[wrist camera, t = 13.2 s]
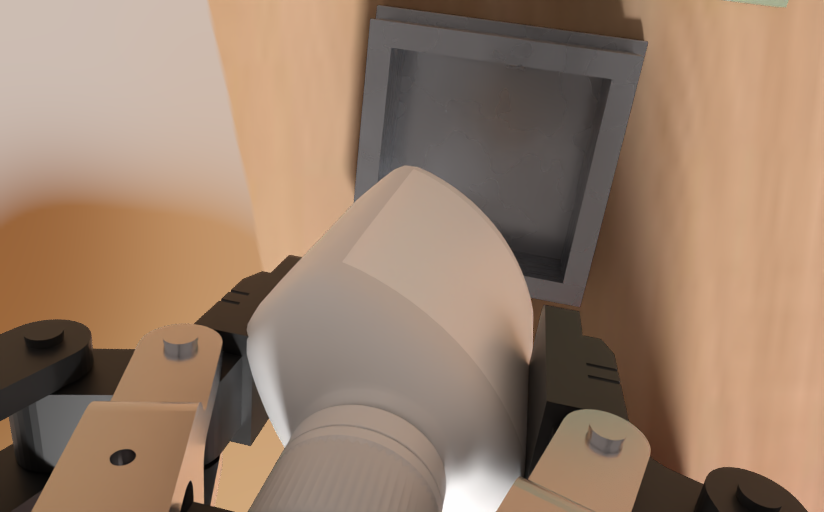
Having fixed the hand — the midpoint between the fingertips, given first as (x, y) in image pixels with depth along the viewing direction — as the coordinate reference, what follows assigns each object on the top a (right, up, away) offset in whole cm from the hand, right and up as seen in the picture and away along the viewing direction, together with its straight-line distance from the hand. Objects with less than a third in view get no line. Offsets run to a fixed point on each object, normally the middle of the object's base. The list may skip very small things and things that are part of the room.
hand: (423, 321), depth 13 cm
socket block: (+4, +7, +17) cm, 19 cm away
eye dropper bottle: (+1, +1, +4) cm, 4 cm away
